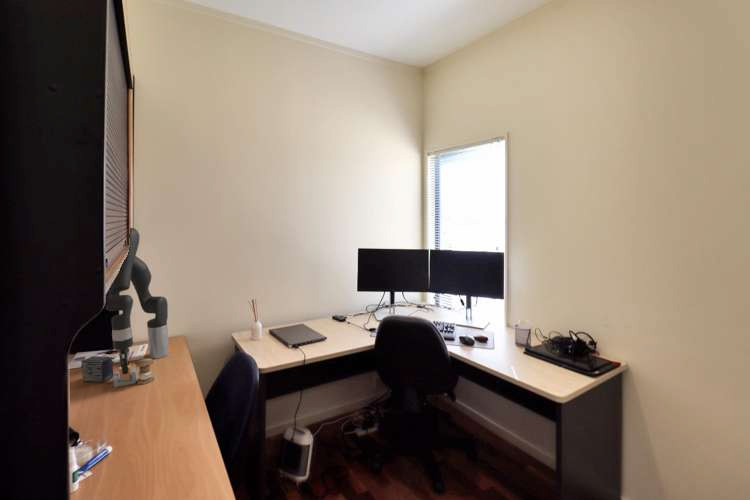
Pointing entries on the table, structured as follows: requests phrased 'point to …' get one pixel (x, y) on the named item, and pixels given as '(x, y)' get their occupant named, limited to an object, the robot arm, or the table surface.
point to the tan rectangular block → (125, 376)
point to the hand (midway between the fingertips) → (125, 369)
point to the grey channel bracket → (126, 382)
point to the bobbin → (144, 371)
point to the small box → (97, 369)
